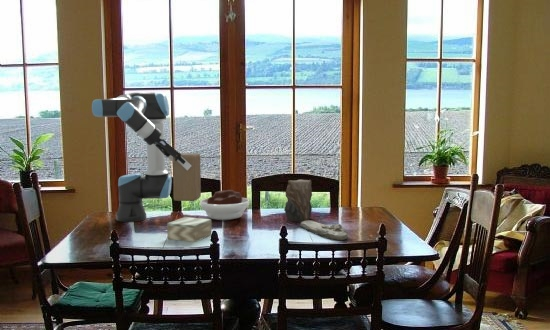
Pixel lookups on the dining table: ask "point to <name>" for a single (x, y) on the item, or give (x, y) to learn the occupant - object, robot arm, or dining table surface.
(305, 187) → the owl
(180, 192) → the wooden block
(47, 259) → the dining table surface
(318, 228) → the elongated rock
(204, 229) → the birch step
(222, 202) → the white bowl of dessert
